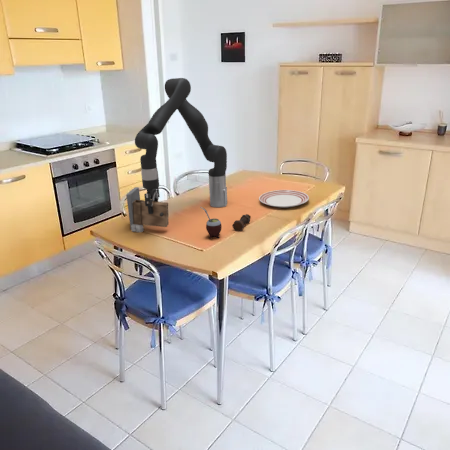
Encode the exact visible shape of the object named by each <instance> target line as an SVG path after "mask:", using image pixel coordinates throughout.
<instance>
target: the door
mask: <svg viewBox="0 0 450 450" xmlns="http://www.w3.org/2000/svg"><path fill="white" fill-rule="evenodd" d="M132 204H133V224H136V225H143V226H149V227H151V226H152V227H161V228H167V227H168V226H169V223H170V222H169V202H166V201H165V202H164V201H163V202H162V201H158V202H153V214H149V213H148V206H145V199H140V200H135V201H133V202H132Z"/></svg>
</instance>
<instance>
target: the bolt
mask: <svg viewBox="0 0 450 450" xmlns="http://www.w3.org/2000/svg"><path fill="white" fill-rule="evenodd" d="M251 218H252V217H251V215H250V214H247V213H246V214H242V215H241V217H240V218H239V220H234V222H232V223H233V224H232V228H233V230H234V231H235V232H242V231H243V230H244V228H245V225H247V224H249V223H250V221H251Z"/></svg>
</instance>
